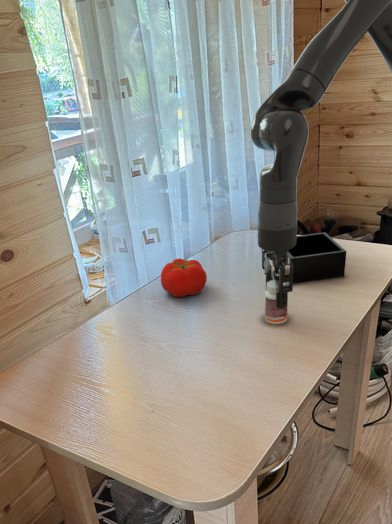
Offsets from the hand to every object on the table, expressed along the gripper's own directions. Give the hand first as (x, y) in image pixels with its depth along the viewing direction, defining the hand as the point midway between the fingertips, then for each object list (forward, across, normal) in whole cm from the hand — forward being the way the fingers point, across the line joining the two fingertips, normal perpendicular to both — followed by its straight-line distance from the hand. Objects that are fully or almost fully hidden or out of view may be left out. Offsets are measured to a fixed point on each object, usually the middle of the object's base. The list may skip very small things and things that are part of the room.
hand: (276, 298), depth 107 cm
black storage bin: (+5, +22, -15) cm, 27 cm away
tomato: (+5, +19, +17) cm, 26 cm away
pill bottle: (+5, 0, 0) cm, 5 cm away
